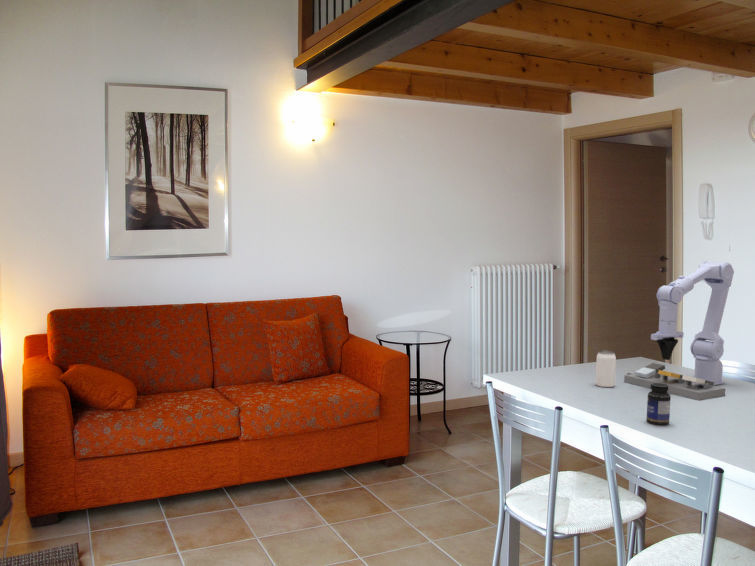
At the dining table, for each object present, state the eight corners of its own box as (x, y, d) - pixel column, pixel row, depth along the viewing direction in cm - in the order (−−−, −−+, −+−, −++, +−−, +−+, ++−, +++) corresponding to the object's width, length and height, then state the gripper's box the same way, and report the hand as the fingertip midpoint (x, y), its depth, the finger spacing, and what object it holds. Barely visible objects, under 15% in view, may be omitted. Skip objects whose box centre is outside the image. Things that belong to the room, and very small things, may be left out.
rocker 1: (653, 366, 253) (653, 362, 252) (665, 368, 248) (664, 365, 248) (635, 375, 248) (634, 371, 248) (646, 378, 244) (646, 374, 243)
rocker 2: (675, 377, 245) (676, 374, 245) (688, 380, 240) (689, 376, 240) (658, 373, 240) (658, 369, 240) (670, 376, 235) (671, 372, 235)
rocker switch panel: (639, 375, 261) (640, 364, 260) (725, 395, 231) (725, 382, 230) (614, 379, 254) (614, 367, 253) (698, 400, 224) (699, 387, 223)
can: (615, 388, 240) (617, 354, 239) (596, 387, 241) (597, 353, 240) (613, 384, 246) (614, 351, 245) (594, 383, 247) (595, 350, 246)
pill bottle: (642, 419, 200) (644, 382, 199) (662, 419, 201) (664, 382, 200) (652, 425, 194) (654, 387, 193) (673, 425, 195) (675, 387, 194)
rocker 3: (699, 383, 236) (700, 379, 236) (713, 386, 232) (714, 382, 232) (682, 379, 231) (682, 375, 231) (695, 382, 227) (696, 377, 227)
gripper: (672, 318, 244) (670, 355, 245) (644, 320, 237) (642, 359, 238) (689, 320, 238) (687, 359, 239) (661, 322, 231) (659, 362, 232)
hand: (666, 359), depth 238 cm, fingers closed
